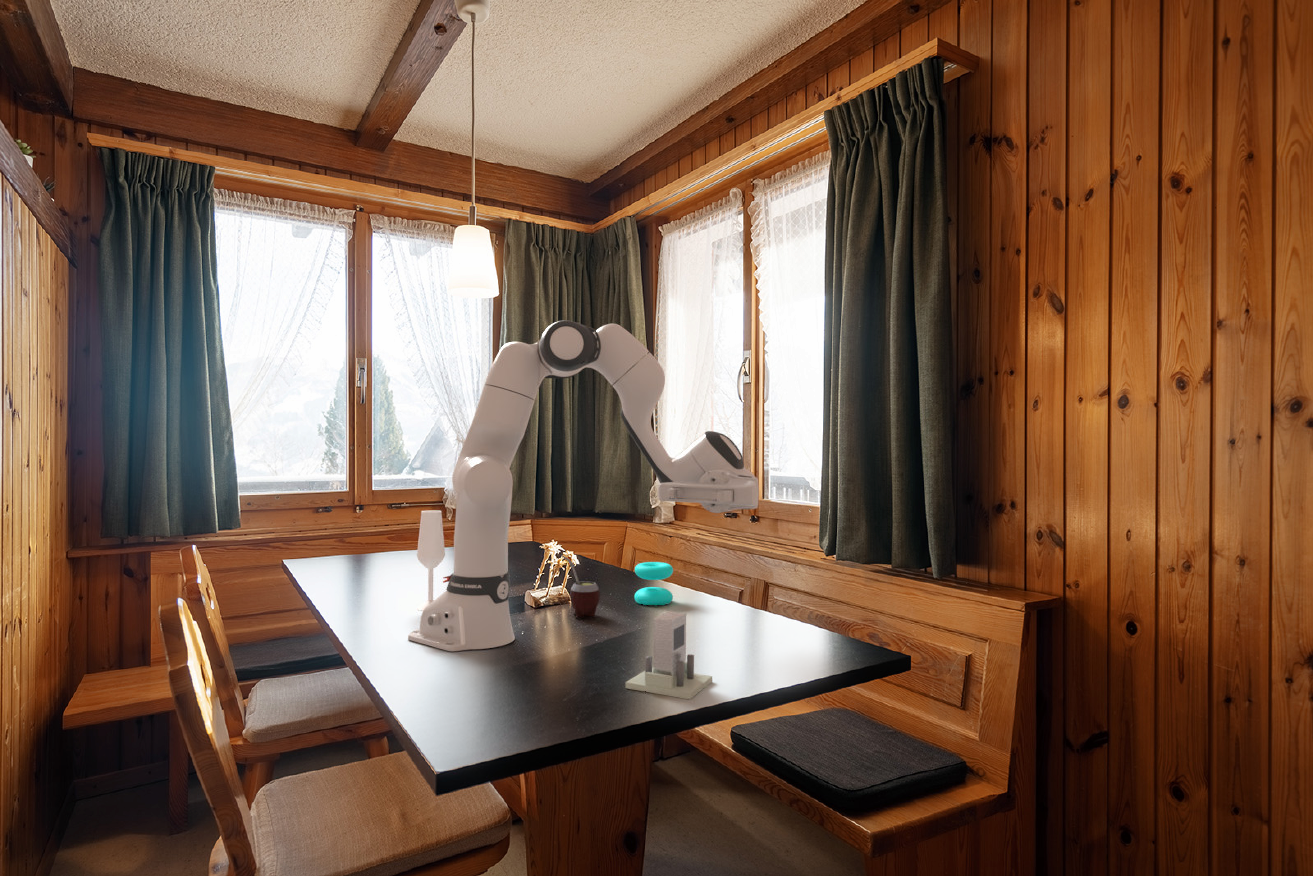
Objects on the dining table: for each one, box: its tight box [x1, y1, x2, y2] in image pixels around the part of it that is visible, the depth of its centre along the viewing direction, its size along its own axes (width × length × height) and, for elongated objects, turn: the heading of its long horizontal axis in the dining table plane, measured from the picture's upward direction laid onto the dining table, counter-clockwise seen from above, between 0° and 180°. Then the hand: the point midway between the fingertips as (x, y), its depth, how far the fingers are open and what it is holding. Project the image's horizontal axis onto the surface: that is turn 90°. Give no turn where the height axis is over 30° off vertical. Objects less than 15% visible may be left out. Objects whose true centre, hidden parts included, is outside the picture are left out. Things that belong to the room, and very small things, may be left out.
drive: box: [652, 610, 687, 684], centre depth 132 cm, size 3×6×11 cm, turn 154°
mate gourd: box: [561, 554, 601, 620], centre depth 180 cm, size 8×8×15 cm
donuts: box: [634, 561, 674, 607], centre depth 196 cm, size 10×10×10 cm
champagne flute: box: [416, 509, 446, 612], centre depth 188 cm, size 7×7×24 cm
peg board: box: [625, 654, 713, 700], centre depth 132 cm, size 12×10×5 cm
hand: (692, 495), depth 145 cm, fingers open, 8 cm apart
